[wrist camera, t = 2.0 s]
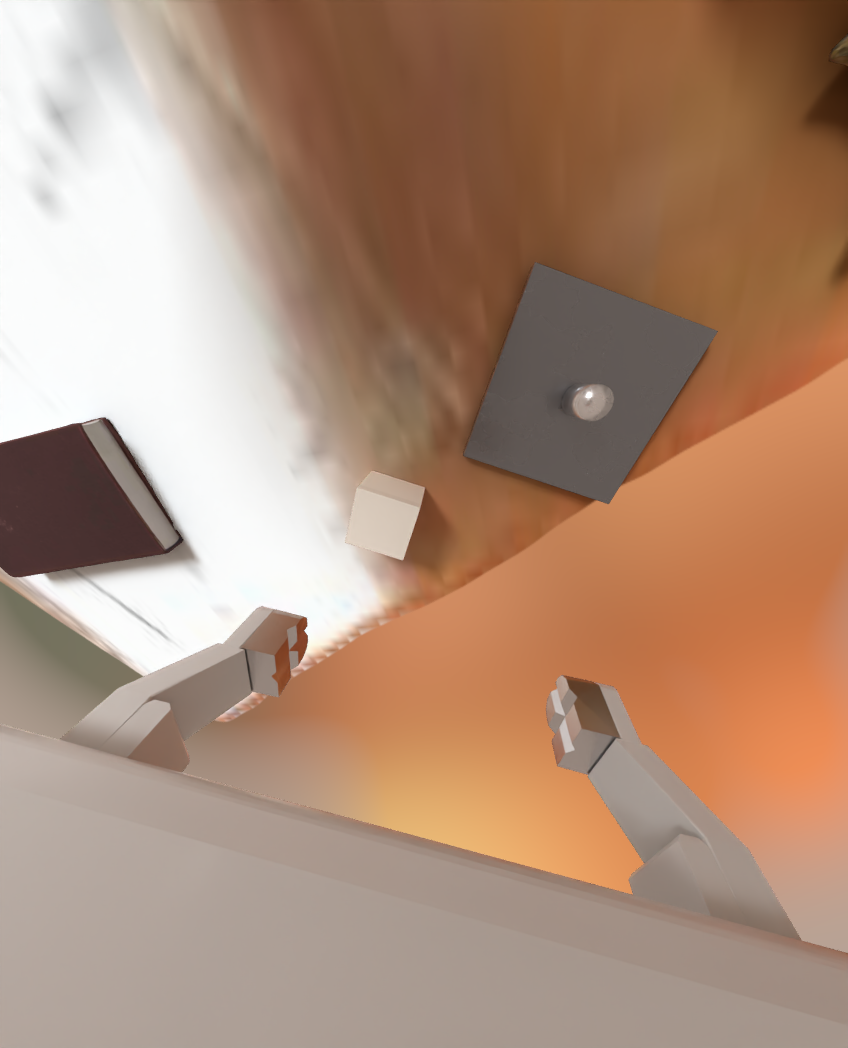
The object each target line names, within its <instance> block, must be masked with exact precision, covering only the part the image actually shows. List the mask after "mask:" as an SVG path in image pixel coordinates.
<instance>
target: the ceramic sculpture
mask: <svg viewBox="0 0 848 1048" xmlns="http://www.w3.org/2000/svg"><path fill="white" fill-rule="evenodd" d="M829 61H830V62H834V63H838V64H843V65H846V66H848V34H847V35H846V36H845V37H844V38H843V39H842V40H841V41H840V42H839V43H838V44H837V45H836V46H835V47H834V48H833V49H832V51H831V52H830V54H829Z"/></svg>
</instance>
